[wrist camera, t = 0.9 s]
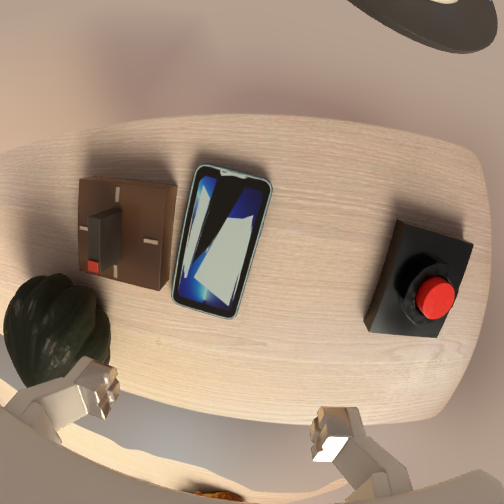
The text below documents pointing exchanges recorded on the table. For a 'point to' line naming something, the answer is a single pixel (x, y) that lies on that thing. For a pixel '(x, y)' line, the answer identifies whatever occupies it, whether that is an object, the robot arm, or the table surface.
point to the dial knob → (104, 240)
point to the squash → (54, 328)
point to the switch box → (415, 279)
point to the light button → (435, 297)
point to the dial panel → (131, 227)
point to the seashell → (221, 496)
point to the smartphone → (219, 239)
